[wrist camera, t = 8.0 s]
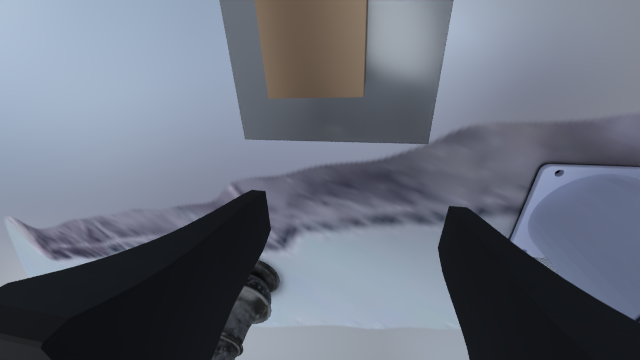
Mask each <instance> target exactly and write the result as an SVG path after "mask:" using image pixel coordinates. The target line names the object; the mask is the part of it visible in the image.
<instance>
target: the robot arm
mask: <svg viewBox="0 0 640 360" xmlns="http://www.w3.org/2000/svg"><path fill="white" fill-rule="evenodd" d="M558 170H560V171H559V173H557V174H555V172H556V171H558ZM270 231H271V227H270V220H269V213H268V206H267V199H266V192H265V191H257V190H251V191H249V192H247V193H245V194H243V195H241V196H239V197H237V198H236V199H234V200H232V201H230V202H229V203H227V204H225V205H223V206H221V207H220V208H218V209H216V210H214V211H213V212H211V213H209V214H207V215H205V216H203V217H201V218H199V219H198V220H196V221H194V222H192V223H190V224H188V225H186V226H184V227H182V228H180V229H178V230H176V231H173V232H171V233H169V234H167V235H164V236H162V237H160V238H157V239H155V240H152V241H150V242H147V243H145V244H142V245H139V246H136V247H134V248H131V249H128V250H125V251H123V252H120V253H117V254H114V255H111V256H108V257H105V258H102V259H98V260H95V261H92V262H88V263H85V264H82V265H78V266H75V267H71V268H67V269H64V270H60V271H56V272H52V273H48V274H44V275H40V276H36V277H32V278H27V279H23V280H19V281H15V282H11V283H7V284H5V285H3V286H1V287H0V360H212V358H213V355H214V352H215V350H216V347H217V345H218V342H219V340H220V337H221V335H222V332H223V330H224V327H225V325H226V323H227V320H228V318H229V316H230V313H231V311H232V308H233V306H234V304H235V302H236V300H237V298H238V296H239V294H240V293H241V291H242V289H243V287H244V285H245V283H246V282H247V280H248V278H249V276H250V274H251V272H252V271H253V269H254V267H255V265H256V263H257V261H258V259H259V257H260V256H261V254H262V252H263V250H264V247H265V244H266V242H267V239H268V236H269V234H270ZM522 249H523V250H522ZM438 251H439V257H440V263H441V267H442V272H443V276H444V279H445V282H446V285H447V288H448V291H449V294H450V297H451V300H452V303H453V306H454V309H455V312H456V315H457V318H458V321H459V324H460V327H461V330H462V333H463V336H464V339H465V343H466V346H467V350H468V355H469V359H470V360H640V167H624V166H596V165H567V164H547V165H544V166H543V167H541V168H540V170H539V172H538V175H537V177H536V179H535V182H534V184H533V186H532V189H531V191H530V194H529V196H528V198H527V201H526V203H525V206H524V208H523V210H522V213H521V215H520V218H519V220H518V222H517V225H516V227H515V230H514V232H513V234H512V237H511V239H510V240H509V239H507V238H506V237H505V236H504V235H502V234H501V233H500V232H498V231H497V230H496V229H495V228H493V227H492V226H491V225H490V224H488V223H487V222H486V221H484V220H483V219H482V218H481V217H479V216H478V215H477V214H475V213H474V212H473V211H471V210H470V209H468V208H466V207H454V206H449V209H448V212H447V216H446V220H445V223H444V227H443V231H442V235H441V238H440V242H439V246H438ZM533 257H538V258H546V259H547V260H548V261H549V263H550V264H551V265H552V266H553V267H554V269H555V270H556V271H557V272H558V274H559V275H560V276H559V275H558V274H556V273H555V272H553V271H552V270H550V269H549V268H547V267H546V266H545V265H543V264H542V263H540V262H539V261H537V260H536V259H535V258H533Z"/></svg>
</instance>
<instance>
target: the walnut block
mask: <svg viewBox="0 0 640 360" xmlns="http://www.w3.org/2000/svg"><path fill="white" fill-rule="evenodd" d="M255 7H256V14H257V21H258V28H259V36H260V43H261V50H262V57H263V64H264V71H265V79H266V86H267V93H268V99H280V98H341V97H363V96H364V88H365V81H366V52H367V24H368V0H255Z"/></svg>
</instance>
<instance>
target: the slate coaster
mask: <svg viewBox="0 0 640 360" xmlns="http://www.w3.org/2000/svg"><path fill="white" fill-rule="evenodd" d="M220 6H221V11H222V16H223V22H224V27H225V33H226V38H227V44H228V49H229V54H230V60H231V65H232V70H233V76H234V81H235V87H236V92H237V98H238V103H239V108H240V114H241V120H242V124H243V130H244V136H245V139H252V140H291V141H292V140H293V141H331V142H333V141H335V142H370V143H409V144H410V143H411V144H428V142H429V136H430V131H431V125H432V119H433V114H434V108H435V102H436V97H437V91H438V85H439V80H440V74H441V68H442V62H443V56H444V51H445V46H446V40H447V34H448V28H449V23H450V17H451V12H452V6H453V0H368V24H367V52H366V81H365V88H364V96H363V97H341V98H280V99H268V93H267V86H266V79H265V71H264V64H263V57H262V50H261V43H260V36H259V28H258V21H257V14H256V7H255V0H220Z"/></svg>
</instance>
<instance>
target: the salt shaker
mask: <svg viewBox="0 0 640 360" xmlns="http://www.w3.org/2000/svg"><path fill="white" fill-rule="evenodd" d="M278 285H279V277H278V275H277V273H276V272H275V270H274V269H273V268H272V267H270V266H269V265H268V264H266V263H264V262H262V261H257V263H256V265H255V267H254V269H253V271H252V272H251V274H250V276H249V278H248V280H247V282H246V283H245V285H244V287H243V289H242V291H241V293H240V294H239V296H238V298H237V300H236V302H235V304H234V306H233V308H232V311H231V313H230V316H229V318H228V320H227V323H226V325H225V327H224V330H223V332H222V335H221V337H220V340H219V342H218V345H217V347H216V350H215V352H214V355H213V358H212V360H235V357H237V356H239V355H241V354H242V352H243V346H242V343H243V341H244V339H245V336H246V334H247V332H248V329H249V328H250V326H251V325H252V324H257V323H262V322H264V321H266V320H267V319H268V318H269V317H270V314H271V306H270V305H271V293H270V292H273V291H274V290H276V288H277V287H278Z"/></svg>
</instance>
